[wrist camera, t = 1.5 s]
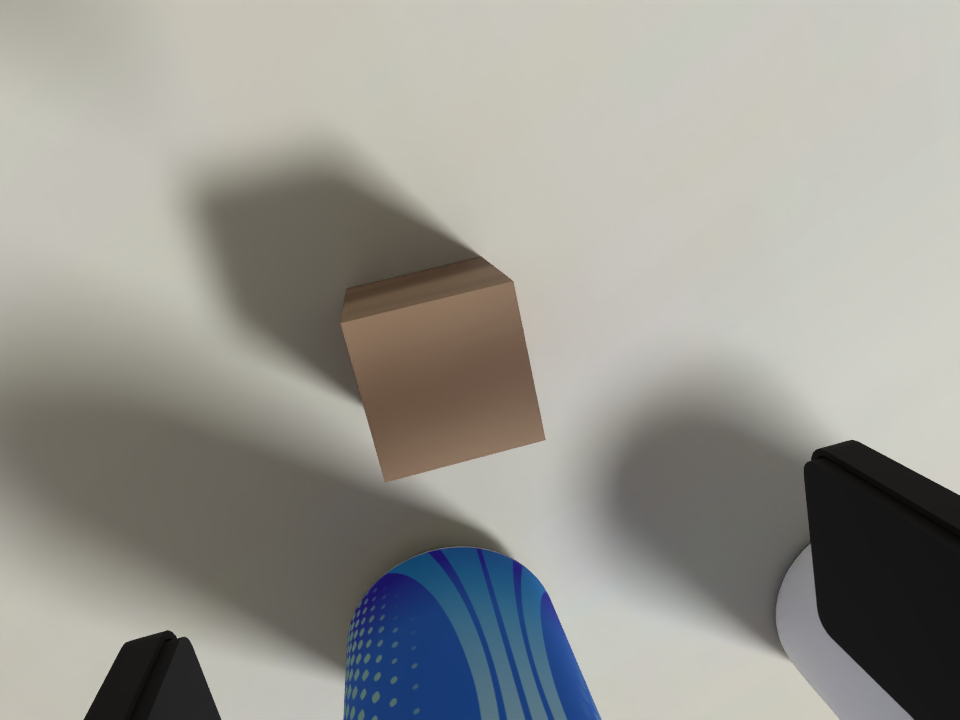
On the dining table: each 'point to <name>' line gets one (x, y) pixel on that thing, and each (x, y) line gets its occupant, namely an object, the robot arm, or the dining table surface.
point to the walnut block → (441, 366)
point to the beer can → (461, 644)
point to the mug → (826, 652)
